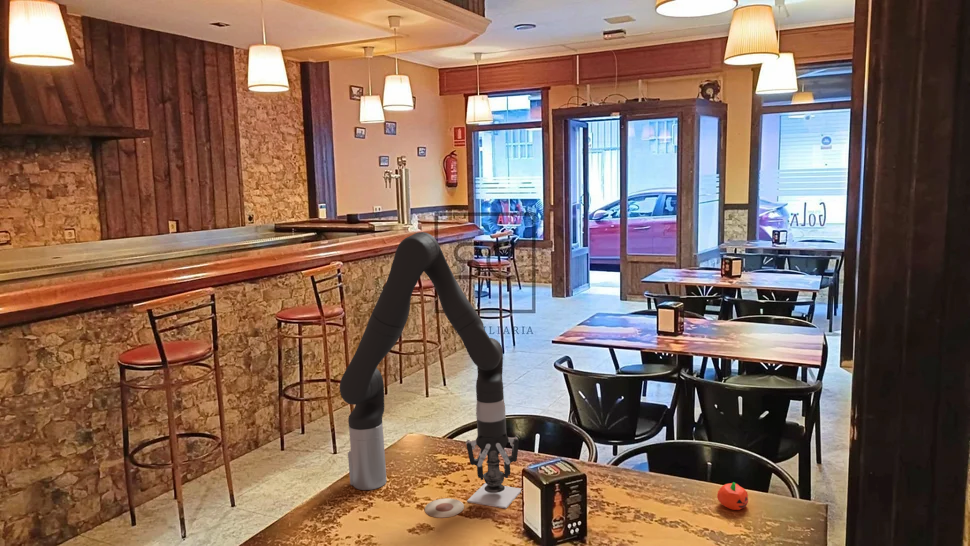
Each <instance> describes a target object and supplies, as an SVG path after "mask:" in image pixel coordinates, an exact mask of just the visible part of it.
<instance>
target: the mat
mask: <svg viewBox="0 0 970 546" xmlns="http://www.w3.org/2000/svg"><path fill="white" fill-rule="evenodd" d="M486 486H487V484H486V483H483V484H482V486H481V487H479V488H478V489H477V490H476V491H475V492H474V493H473V494H472V495H471V496H470V497H469V498H468V499H467V500H466V503H471V504H477V505H483V506H488V507H489V506H490V507H493V508H494V507H496V508H500V509H507V508H508V507H509V506H510V505H511V504H512V503H513V502H512V501H514V500H516V498H517V497H518V496H519V495H520V494H521V493H522V491H521V489H522V488H520V487H514V486H508V485H507V486H506V485H503V486H504V487H505V489H504V490H503V491H501V492H498V493H490V492H487V491H485V487H486Z"/></svg>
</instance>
